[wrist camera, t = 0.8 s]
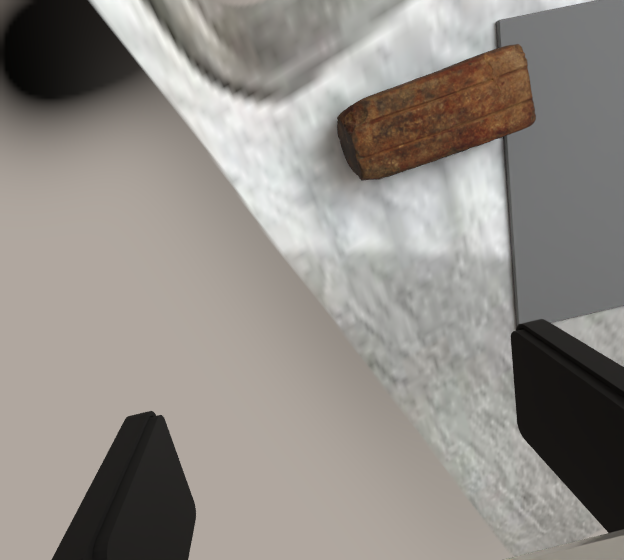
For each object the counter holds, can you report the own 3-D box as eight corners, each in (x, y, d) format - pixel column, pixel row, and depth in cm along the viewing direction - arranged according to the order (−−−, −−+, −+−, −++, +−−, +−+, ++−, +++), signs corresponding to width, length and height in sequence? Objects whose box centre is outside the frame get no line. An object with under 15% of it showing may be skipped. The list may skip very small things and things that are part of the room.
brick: (503, 129, 29) (489, 54, 28) (539, 125, 25) (525, 38, 24) (351, 182, 29) (330, 110, 28) (364, 186, 25) (340, 102, 24)
